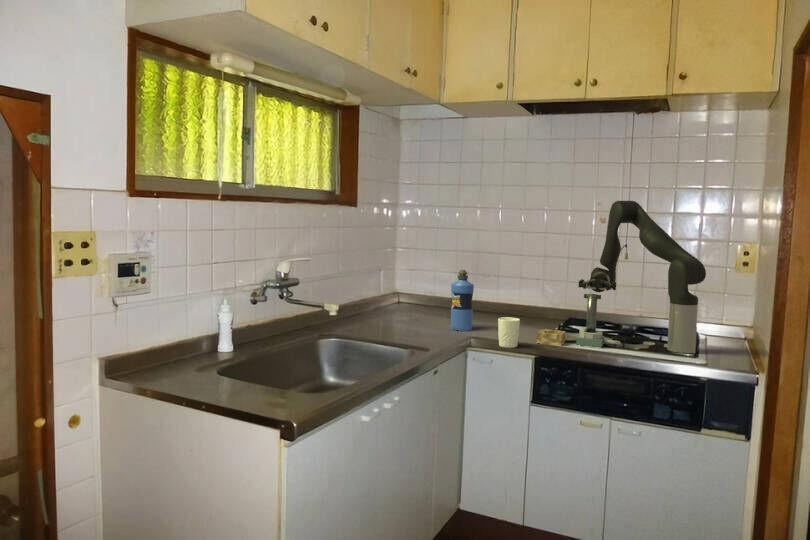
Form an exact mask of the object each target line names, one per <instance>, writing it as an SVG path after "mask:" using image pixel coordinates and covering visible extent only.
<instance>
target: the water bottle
mask: <svg viewBox="0 0 810 540" xmlns="http://www.w3.org/2000/svg"><path fill="white" fill-rule="evenodd" d="M457 273H458V275H457V280H456V281H455V282H453V283H451V284H450V285H451V286H450V287H451V289H450V292H451V301H452V302H451V308H450V330H451V329H452V330H451V331H454V330H458V331H457V332H470V331H469V330H471V331H473V317H474V316H473V315H474V313H473V311H474V310H473V296H474V291H475V290H474V289H475V288H474V286H475V285H474V284H473V283H471V282H470V281H468V278H469V277H468V276H469V275H467V274H468V271H466V270H465V269H460V270H459V271H458V272H457Z"/></svg>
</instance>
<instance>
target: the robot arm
mask: <svg viewBox="0 0 810 540" xmlns="http://www.w3.org/2000/svg"><path fill="white" fill-rule="evenodd" d="M621 224H632V225H633V226H635V227H637V229H638V230H639V233H638V234H639V235H638V236H639V242H640V243H641V245H642V246H643V247H645V249H646V250H648V252H650V254H652V255H654V256H655V257H658V258H660V259H661V260H664V261H666V262H668V263H670V264H669V266H668V267H669V268H668V271H667V275H668V277H667V278H668V279H667V287H668V288H667V293H668V297H669V310H668V327H667V331H668V332H667V342H666V343H667V345H666V346H667V348H666V349H667V351H670V352H674V353H679V354H696V349H697V348H696V347H697V346H696V345H697V330H698V311H699V310H698V309H699V297H698V296H697V295H695V294H693V293H691V292H690V291H689V286H690V285H692V286H693V285H698V284H701V283H703V282H704V281H705V279H706V277H707V273H706V268H705V265H704V264H703V262H701V260H700V259H698V258H697V257H695V256H694V255H693V254H691V253H690V252H688V251H687V250H685V249H684V248H683V247H682V246H681V245H680V244H679V243H678V242H677V241H675V240H674V239H673V238H672V237H671V236H670V235H669V233H668V232H666V231H665V230H664V229H663V228H662V227H661V226H660V225H659V224H658V223H656V222H655V220H653V218H652V217H650V216H649V215H648V213H647V212H646V210H645V209H644V208H643V207H642V206H641V204H639V203H638V202H637V201H635V200H616V201H614V202H613V203H612V204H611V207H610V210H609V214H608V221H607V227H606V235H605V243H604V246H603V250H602V253H601V255H600V259H599V263H600V265H601V266H603V267H604V268H602V267H598V266H597V267H594V268H593V270H591V273H590V279H587V280H585V279H583V278H582V279H580V280H578V287H577V288H582V289H583V290H586V289H589V290H590V289H591V290H592V291H593V292H594V293H595V292H596V293H603V292H605V291H607V292H608V291H611V290H613V291H616V290H617V264H618V260H619V257H620V255H621V250H622V246H621V241H620V239H619V228H620V225H621ZM605 268H607V269H605Z"/></svg>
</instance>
